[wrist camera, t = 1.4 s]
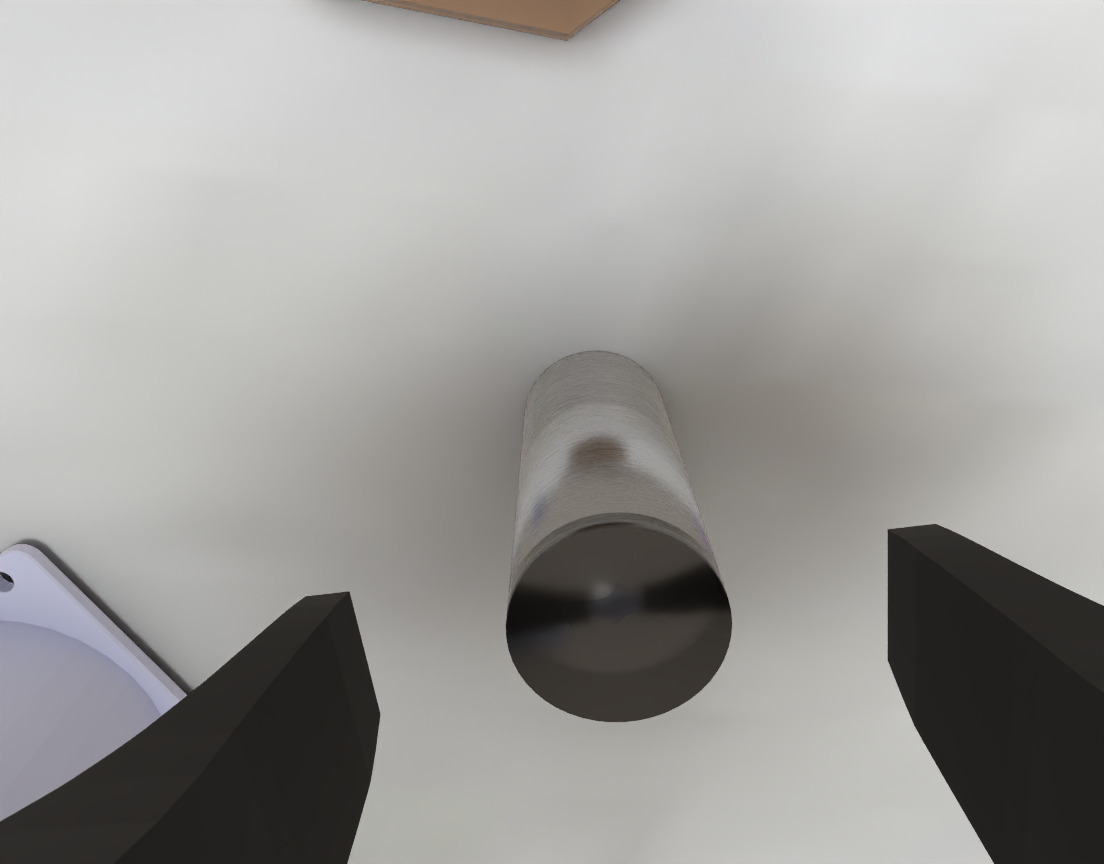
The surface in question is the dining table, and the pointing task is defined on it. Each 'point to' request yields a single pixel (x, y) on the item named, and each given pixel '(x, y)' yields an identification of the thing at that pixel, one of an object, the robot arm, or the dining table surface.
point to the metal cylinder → (610, 550)
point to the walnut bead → (516, 13)
